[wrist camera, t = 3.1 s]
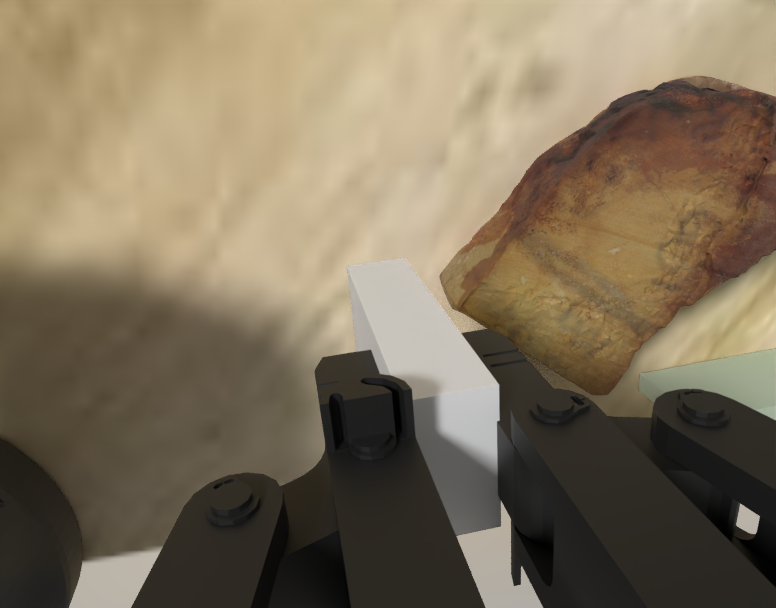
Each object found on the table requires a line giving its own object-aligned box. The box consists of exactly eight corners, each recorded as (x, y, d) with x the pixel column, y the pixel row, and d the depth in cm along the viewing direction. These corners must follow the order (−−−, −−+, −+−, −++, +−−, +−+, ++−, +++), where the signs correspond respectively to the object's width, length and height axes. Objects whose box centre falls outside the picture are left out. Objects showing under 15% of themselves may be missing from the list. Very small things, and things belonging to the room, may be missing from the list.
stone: (539, 383, 29) (594, 441, 24) (417, 263, 26) (452, 305, 21) (772, 163, 27) (879, 179, 23) (675, 3, 24) (778, -17, 19)
